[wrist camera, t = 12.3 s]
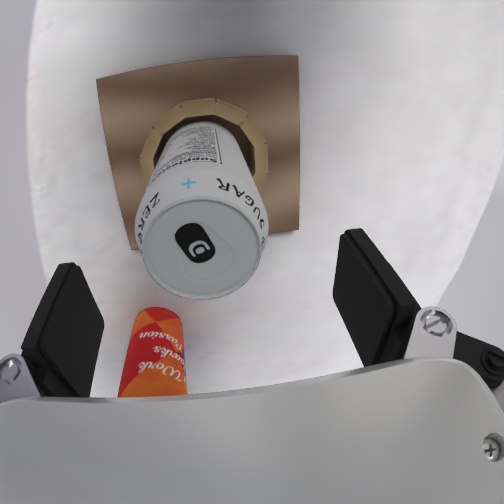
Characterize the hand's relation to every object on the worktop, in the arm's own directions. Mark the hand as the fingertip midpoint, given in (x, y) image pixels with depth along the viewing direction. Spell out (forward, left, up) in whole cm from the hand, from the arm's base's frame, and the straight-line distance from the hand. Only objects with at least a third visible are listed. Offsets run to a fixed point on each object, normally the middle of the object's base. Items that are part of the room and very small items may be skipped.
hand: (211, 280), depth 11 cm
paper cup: (+19, -8, -18) cm, 28 cm away
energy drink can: (0, 0, -17) cm, 17 cm away
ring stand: (0, 0, -18) cm, 18 cm away
